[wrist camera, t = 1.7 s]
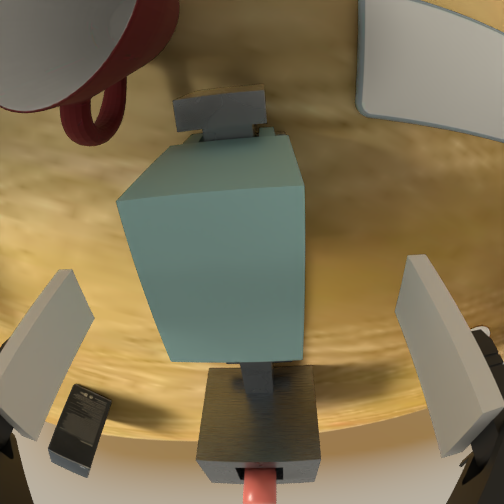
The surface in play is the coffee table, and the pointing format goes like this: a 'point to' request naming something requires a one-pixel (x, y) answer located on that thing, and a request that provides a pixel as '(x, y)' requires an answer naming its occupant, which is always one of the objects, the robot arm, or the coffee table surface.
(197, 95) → the rail
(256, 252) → the block
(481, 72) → the smartphone
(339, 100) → the coffee table surface
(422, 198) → the coffee table surface
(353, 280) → the coffee table surface
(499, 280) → the coffee table surface
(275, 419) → the gray button box
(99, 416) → the box
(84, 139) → the mug
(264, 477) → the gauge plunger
